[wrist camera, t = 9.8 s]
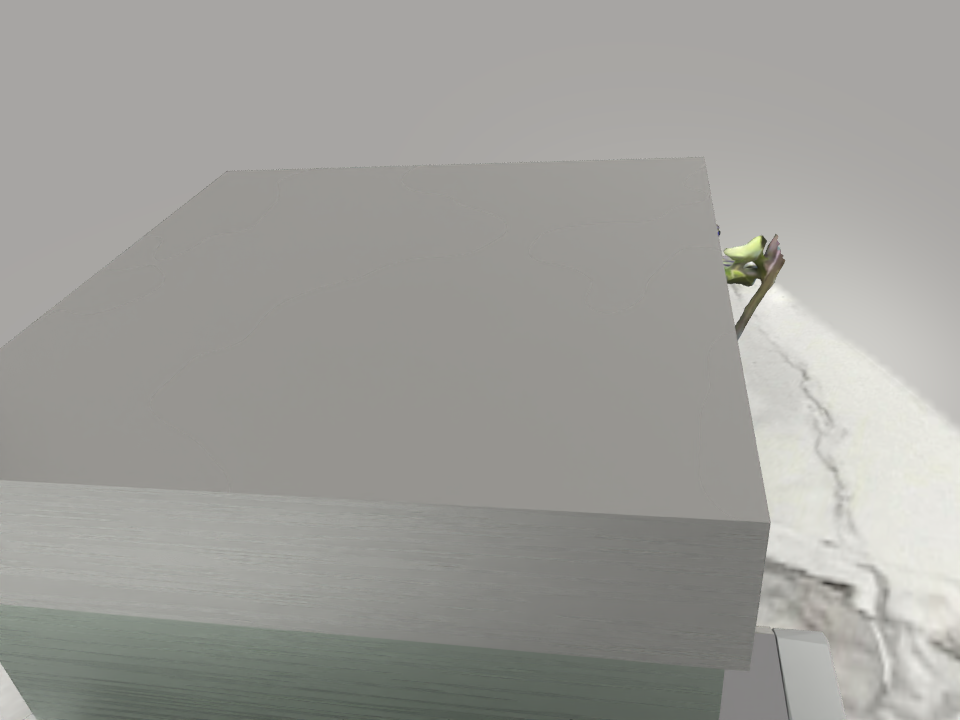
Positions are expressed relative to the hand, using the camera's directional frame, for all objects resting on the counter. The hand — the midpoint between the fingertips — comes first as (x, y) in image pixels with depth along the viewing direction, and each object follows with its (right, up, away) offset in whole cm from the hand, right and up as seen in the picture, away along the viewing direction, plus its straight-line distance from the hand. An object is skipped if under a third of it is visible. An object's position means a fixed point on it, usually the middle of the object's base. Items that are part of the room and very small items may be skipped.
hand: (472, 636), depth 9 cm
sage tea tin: (0, -6, +3) cm, 7 cm away
